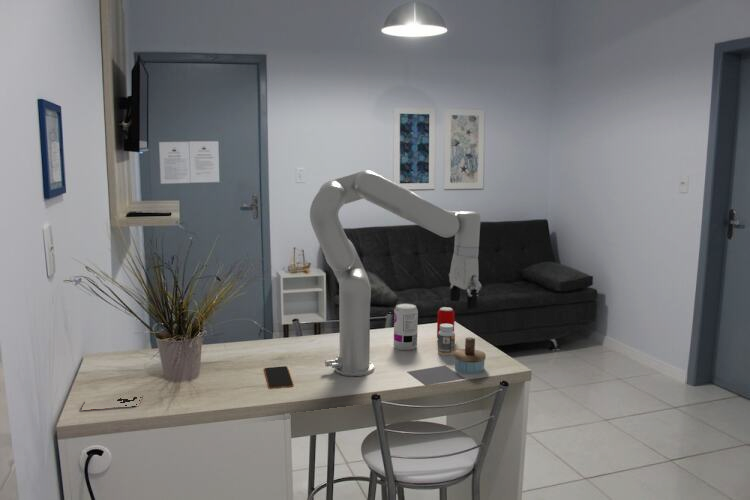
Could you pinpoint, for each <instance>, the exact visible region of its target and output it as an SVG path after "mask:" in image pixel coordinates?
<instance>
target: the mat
mask: <svg viewBox="0 0 750 500" xmlns="http://www.w3.org/2000/svg"><path fill="white" fill-rule="evenodd" d="M406 373H408V375H411V376H412V377H413V379H416V381H418V382H420V383H422V384H423V385H424V386H425V387H426V386H430V385H436V384H442V383H446V382H447V383H449V382H453V381H458V380H464V379H466V378H465V377H464V376H463V375H461V374H460V373H458V372H456V371H454V370H453V369H451V368H450V367H448V366H447V365H439V366H434V367H428V368H421V369H417V370H410V371H406Z"/></svg>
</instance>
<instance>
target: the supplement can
mask: <svg viewBox="0 0 750 500" xmlns="http://www.w3.org/2000/svg"><path fill="white" fill-rule="evenodd" d="M393 312H394V313H393V316H394V319H393V320H394V321H393V346H394V347H395V349H397V350H400V351H412V350H415V349H416V348H417V347H418V327H419V326H418V324H419V323H418V322H419V321H418V320H419V310H418V308H417V305H415V304H412V303H399V304H396V305H395V308H394V310H393Z"/></svg>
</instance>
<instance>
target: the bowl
mask: <svg viewBox="0 0 750 500" xmlns="http://www.w3.org/2000/svg"><path fill="white" fill-rule="evenodd" d="M454 369H455V370H456V371H458V372H461V373H465V374H479V373H482V372H483V371H484V369H485V360H483V361H481V362H463V361H459V360H457V359H455V358H454Z"/></svg>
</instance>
